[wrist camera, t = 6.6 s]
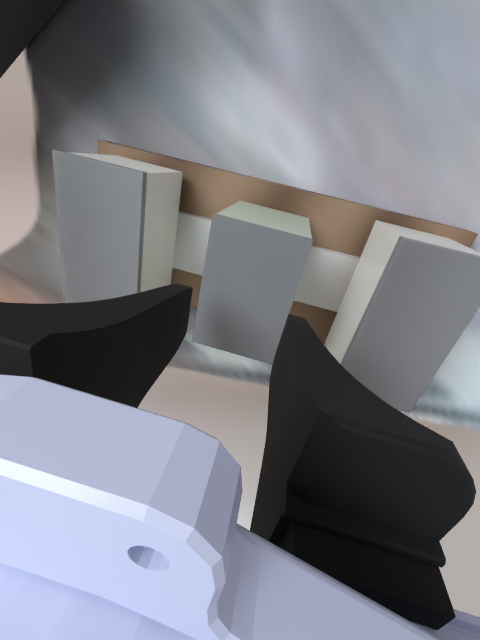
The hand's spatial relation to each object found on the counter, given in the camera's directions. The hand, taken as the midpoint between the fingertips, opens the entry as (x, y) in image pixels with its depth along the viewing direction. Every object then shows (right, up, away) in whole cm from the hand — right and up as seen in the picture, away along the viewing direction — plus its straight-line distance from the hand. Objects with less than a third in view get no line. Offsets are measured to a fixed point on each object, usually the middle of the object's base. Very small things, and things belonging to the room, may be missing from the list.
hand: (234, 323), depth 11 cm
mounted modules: (+1, +4, +7) cm, 8 cm away
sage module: (+2, +4, +7) cm, 8 cm away
